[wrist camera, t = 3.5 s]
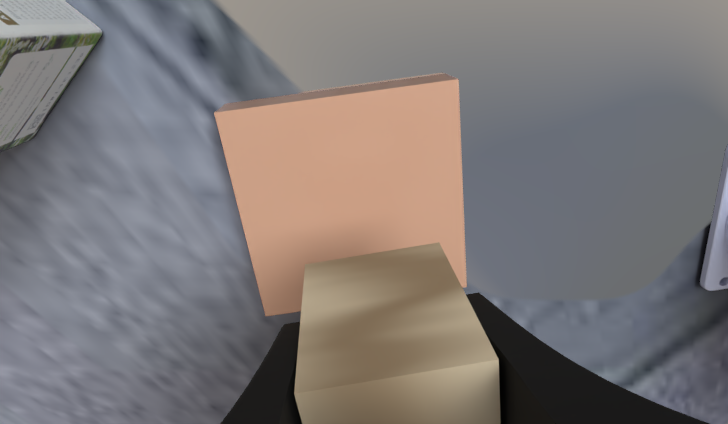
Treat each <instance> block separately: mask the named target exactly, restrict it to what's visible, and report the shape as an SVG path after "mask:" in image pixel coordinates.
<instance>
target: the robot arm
mask: <svg viewBox="0 0 728 424" xmlns="http://www.w3.org/2000/svg"><path fill="white" fill-rule="evenodd" d="M721 279H722V280H721ZM700 285H701V286H702V287H703V288H705V289H706V290H708V291H715V290H721V289H728V144H727V146H726V149H725V154H724V160H723V165H722V170H721V175H720V180H719V185H718V190H717V196H716V201H715V206H714V211H713V217H712V221H711V227H710V232H709V237H708V242H707V247H706V252H705V257H704V263H703V268H702V273H701V278H700ZM466 296H467V298H468V300H469V302H470V304H471V306H472V308H473V310H474V312H475V314H476V316H477V318H478V320H479V322H480V324H481V326H482V328H483V330H484V331H485V333H486V335H487V337H488V339H489V341H490V343H491V345H492V347H493V349H494V351H495V353H496V355H497V357H498V359H499V386H500V420H501V424H709V423H706V422H703V421H700V420H698V419H695V418H693V417H690V416H687V415H685V414H682V413H679V412H677V411H674V410H672V409H669V408H667V407H664V406H662V405H659V404H657V403H655V402H652V401H650V400H648V399H645V398H643V397H641V396H639V395H637V394H635V393H632V392H630V391H628V390H626V389H624V388H622V387H619V386H617V385H615V384H613V383H611V382H609V381H607V380H605V379H603V378H602V377H600V376H598V375H596V374H594V373H592V372H591V371H589V370H587V369H585V368H583V367H582V366H580V365H578V364H576V363H575V362H573V361H571V360H570V359H568V358H566V357H565V356H563V355H562V354H560V353H558V352H557V351H555V350H554V349H552V348H551V347H549V346H548V345H546V344H545V343H543V342H542V341H540V340H539V339H538V338H536V337H535V336H534V335H532V334H531V333H529V332H528V331H527V330H525V329H524V328H523V327H521V326H520V325H519V324H517V323H516V322H515V321H513V320H512V319H511V318H510V317H508V316H507V315H506V314H505V313H503V312H502V311H501V310H500V309H498V308H497V307H496V306H495V305H494V304H492V303H491V302H490V301H489V300H487V299H486V298H485V297H484V296H482V295H481V294H480V293H474V294H468V295H466ZM299 331H300V322H296V323H290V324H285V325H284V326H283V327H282V328H281V330H280V332H279V334H278V336H277V338H276V339H275V341H274V343H273V345H272V347H271V349H270V350H269V352H268V354H267V355H266V357H265V359H264V361H263V362H262V364H261V366H260V367H259V369H258V370H257V372H256V374H255V375H254V377H253V378H252V380H251V382H250V383H249V385H248V386H247V388H246V389H245V391H244V392H243V393H242V395H241V396H240V398H239V399H238V401H237V402H236V403H235V405H234V406H233V408H232V409H231V411H230V412H229V413H228V415H227V416H226V417H225V418H224V420H223V421H222V422H221V424H302V421H301V417H300V414H299V410H298V406H297V403H296V399H295V395H294V389H295V377H296V366H297V354H298V342H299Z"/></svg>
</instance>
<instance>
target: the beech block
mask: <svg viewBox="0 0 728 424" xmlns="http://www.w3.org/2000/svg"><path fill="white" fill-rule="evenodd" d="M294 395H295V399H296V403H297V406H298V410H299V414H300V417H301V421H302V424H501V420H500V386H499V359H498V357H497V355H496V353H495V351H494V349H493V347H492V345H491V343H490V341H489V339H488V337H487V335H486V333H485V331H484V330H483V328H482V326H481V324H480V322H479V320H478V318H477V316H476V314H475V312H474V310H473V308H472V306H471V304H470V302H469V300H468V298H467V296H466V294H465V292H464V290H463V288H462V286H461V284H460V282H459V280H458V278H457V277H456V275H455V273H454V271H453V269H452V267H451V265H450V263H449V261H448V259H447V257H446V255H445V253H444V251H443V249H442V247H441V245H440V243H439V242H438V243H432V244H426V245H420V246H414V247H408V248H402V249H396V250H390V251H383V252H377V253H371V254H365V255H359V256H353V257H347V258H341V259H335V260H329V261H323V262H317V263H310V264H305V272H304V284H303V295H302V307H301V319H300V331H299V342H298V354H297V366H296V377H295V389H294Z"/></svg>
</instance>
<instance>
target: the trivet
mask: <svg viewBox="0 0 728 424" xmlns="http://www.w3.org/2000/svg"><path fill="white" fill-rule="evenodd" d="M214 114H215V118H216V122H217V126H218V130H219V134H220V138H221V142H222V146H223V150H224V154H225V158H226V162H227V166H228V169H229V173H230V177H231V181H232V185H233V189H234V193H235V197H236V201H237V205H238V209H239V213H240V217H241V221H242V225H243V229H244V233H245V237H246V241H247V245H248V249H249V253H250V256H251V260H252V264H253V268H254V272H255V276H256V280H257V284H258V288H259V292H260V296H261V300H262V304H263V308H264V312H265V316H272V315H279V314H286V313H293V312H299V311H301V307H302V295H303V284H304V272H305V264H310V263H317V262H323V261H329V260H335V259H341V258H347V257H353V256H359V255H365V254H371V253H377V252H383V251H390V250H396V249H402V248H408V247H414V246H420V245H426V244H432V243H438V242H439V243H440V245H441V247H442V249H443V251H444V253H445V255H446V257H447V259H448V261H449V263H450V265H451V267H452V269H453V271H454V273H455V275H456V277H457V278H458V280H459V282H460V284H461V286H462V288H463V287H467V282H466V258H465V232H464V206H463V181H462V158H461V132H460V106H459V81H458V79H457V78H455V77H452V76H450V75H448V74H445V73H435V74H428V75H420V76H414V77H406V78H399V79H391V80H384V81H377V82H369V83H362V84H354V85H348V86H340V87H333V88H325V89H318V90H311V91H303V92H301V93H300V94H293V95H285V96H278V97H271V98H263V99H256V100H249V101H242V102H234V103H227V104H225V105H223V106H222V107H221V108H220V109H218V110H217V111H216V112H214Z"/></svg>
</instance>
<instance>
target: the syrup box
mask: <svg viewBox="0 0 728 424" xmlns="http://www.w3.org/2000/svg"><path fill="white" fill-rule="evenodd" d="M101 36H102V31H101V29H100V28H99V27H98V26H96V25H95V24H94V23H93V22H91V21H90V20H89V19H87V18H86V17H85V16H84V15H82V14H81V13H80V12H79V11H77V10H76V9H75V8H73V7H72V6H71V5H70V4H68V3H67V2H66V1H65V0H0V152H2V151H4V150H7V149H10V148H12V147H14V146H17V145H19V144H21V143H24V142H26V141H28V140H31V139H32V138H33V137H34V135H35V134H36V133H37V131H38V129H39V128H40V126H41V125H42V124H43V122H44V120H45V119H46V117H47V116H48V114H49V113H50V111H51V110H52V108H53V107H54V106H55V104H56V102H57V101H58V99H59V98H60V96H61V95H62V93H63V92H64V90H65V89H66V87H67V86H68V84H69V83H70V81H71V80H72V78H73V77H74V76H75V74H76V72H77V71H78V69H79V68H80V66H81V65H82V64H83V62H84V61H85V59H86V58H87V56H88V55H89V53H90V52H91V51H92V49H93V48H94V46H95V45H96V43H97V42H98V40H99V39H100V37H101Z"/></svg>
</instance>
